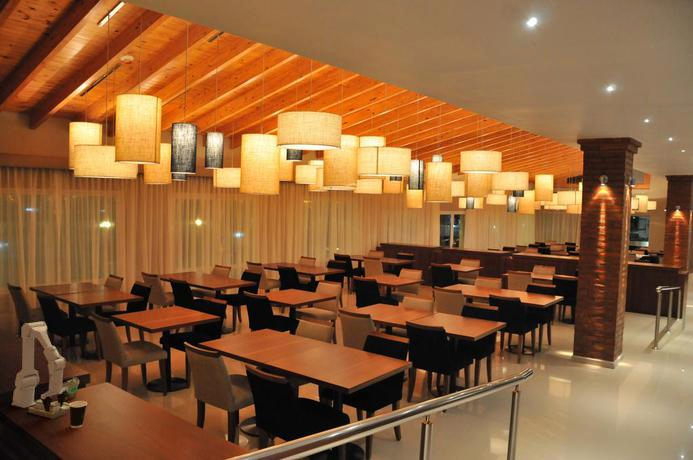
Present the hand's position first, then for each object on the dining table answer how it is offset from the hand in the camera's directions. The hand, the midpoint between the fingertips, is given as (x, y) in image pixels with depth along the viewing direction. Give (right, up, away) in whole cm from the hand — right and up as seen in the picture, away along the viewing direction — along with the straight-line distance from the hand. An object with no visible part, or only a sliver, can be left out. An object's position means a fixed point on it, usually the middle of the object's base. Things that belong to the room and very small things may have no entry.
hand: (53, 408), depth 263 cm
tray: (-3, -3, +9) cm, 10 cm away
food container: (-4, -3, +25) cm, 25 cm away
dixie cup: (+17, -5, -10) cm, 20 cm away
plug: (0, -3, 0) cm, 3 cm away
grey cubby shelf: (-4, -3, +1) cm, 5 cm away
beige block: (-8, -3, +3) cm, 9 cm away
